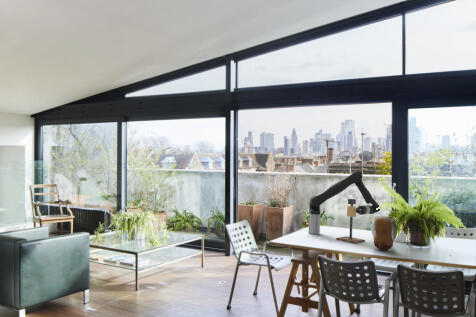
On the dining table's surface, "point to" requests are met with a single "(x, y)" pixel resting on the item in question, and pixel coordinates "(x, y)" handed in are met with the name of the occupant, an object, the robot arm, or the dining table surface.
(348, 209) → the sleeve
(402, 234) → the cable organizer
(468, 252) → the dining table surface
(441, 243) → the dining table surface
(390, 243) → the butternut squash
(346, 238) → the stand
